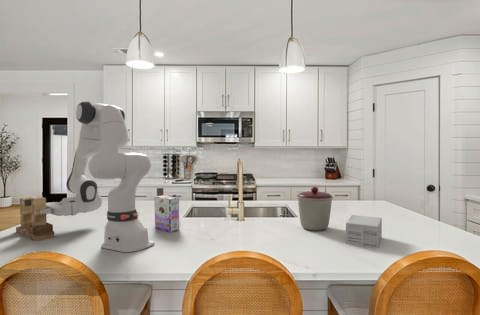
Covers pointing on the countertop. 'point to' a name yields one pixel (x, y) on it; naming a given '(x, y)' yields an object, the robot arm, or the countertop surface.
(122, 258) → the countertop surface
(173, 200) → the candy box
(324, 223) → the canister
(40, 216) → the light wood tall block
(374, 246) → the supplement box
